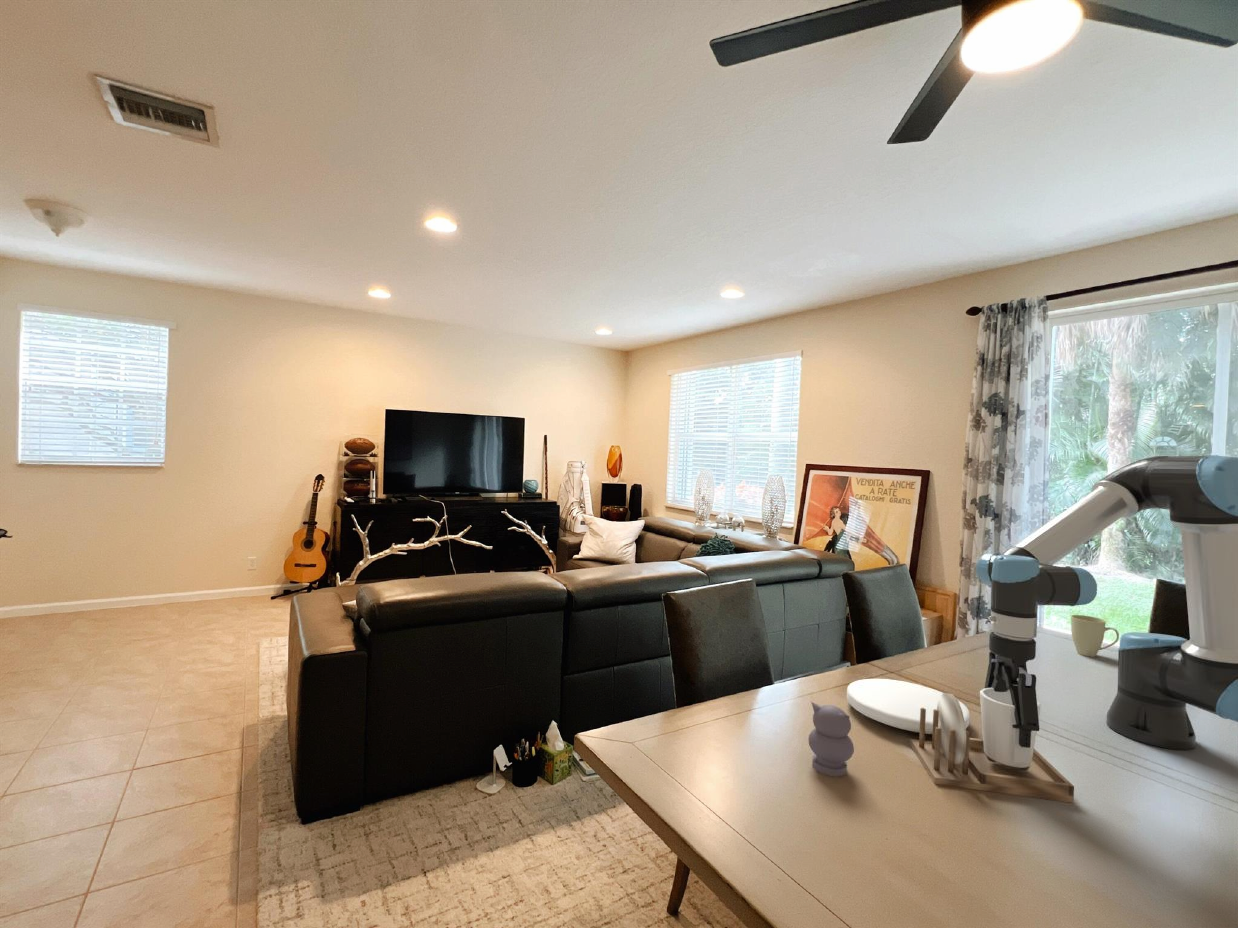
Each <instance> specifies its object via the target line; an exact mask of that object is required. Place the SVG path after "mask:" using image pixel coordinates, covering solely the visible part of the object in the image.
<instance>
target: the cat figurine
mask: <svg viewBox="0 0 1238 928" xmlns="http://www.w3.org/2000/svg"><path fill="white" fill-rule="evenodd" d="M811 705H812V710H813V715H812V721H813V726H814V728H813V729H812V730H811V731H810V733H809V735H808V746H809V748H810V750H811V751H812V752H813V756H812V762H811V763H812V765H811V766H812V767H813V768H814V769H813V770H816V771H817V772H819V773H820V774H822V775H824V776H825V775H826V776H830V777H843V776H844V775H846V774H847V769H848V764H847V761H850V759H851V758H852V757H853V754H854V751H855V747H854V743H853V741H852V739H851V737H850V736H849V733H850V732H851V729H852V723H851V719H850V715H848V714H847V713H846V712H845V711H844V710H843V709H841V708H840V707H838V706H836V705H832V704H823V705H819V704H817V703H815V702H814V701H811Z"/></svg>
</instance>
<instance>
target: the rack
mask: <svg viewBox="0 0 1238 928" xmlns="http://www.w3.org/2000/svg"><path fill="white" fill-rule="evenodd" d="M942 693H943V694H942V695H941V696H940V698H939V701H938V705H937V710H936V709H934V710H933V734H931V735H932V737H931V738H932V740H925V739H926V734H925V720H926V709H925V708H921V709H920V733H919V732H918V733H919V735H918V736H919V737H918V738H919V739H914V738H910V739H909V745H910V747H911V748H912V750H913V752H914V753H915V755H916V756H917V758H918V759H919V761H920V762H921V764H922V765H923V767H924V769H925V771H926V772H927V774H928V775H929V777H930V778H931V780H932V782H933V783H934V784H935V785H942V786H948V787H956V788H963V789H969V790H976V791H977V790H978V791H984V792H985V791H986V792H990V793H991V792H992V793H1000V794H1007V795H1013V796H1022V797H1028V798H1035V799H1042V800H1050V801H1057V802H1064V803H1065V802H1066V803H1074V801H1075V800H1074V797H1075V786H1074V785H1073V784H1072V783H1071V782H1070V781H1069V780H1068V779H1067V778H1066V777H1065V776H1064V775H1063V774H1062V773H1061V772H1060V771H1059V770H1058V769H1056V768H1055V767H1054V766H1053V765H1052V764H1051V763H1050V762H1049V761H1048V760H1047V759H1046V758H1045V757H1044V756H1043V755H1042V754H1041V753H1039V752H1038V751H1037V750H1036V749H1035V748H1034V751H1033V757H1032V763H1031V765H1030V767H1029V769H1028V770H1021V769H1019V768H1013V769H1010V770H1009V769H1006V768H1004V767H1003V766H1002V764H1000V763H998V762H991V761H989V760H988V759H987V757H986V754H985V752H984V744H983V738H982V739H981V738H974V737H973V738H972V737H971V734H970V732H971V731H968V730H967V728H966V727H965V721H964V716H963V712H962V709H961V706H960V704H959V702H958V701H959V700H958V699H957V697H956V696H955V695H954V694H952V693H949V692H947V693H946V692H942Z"/></svg>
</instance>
